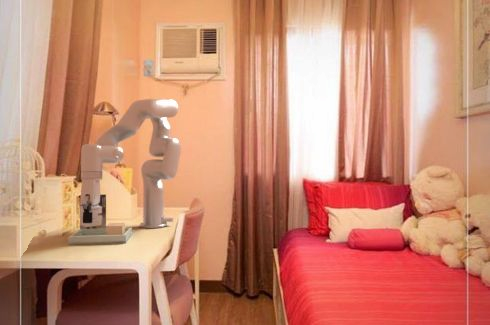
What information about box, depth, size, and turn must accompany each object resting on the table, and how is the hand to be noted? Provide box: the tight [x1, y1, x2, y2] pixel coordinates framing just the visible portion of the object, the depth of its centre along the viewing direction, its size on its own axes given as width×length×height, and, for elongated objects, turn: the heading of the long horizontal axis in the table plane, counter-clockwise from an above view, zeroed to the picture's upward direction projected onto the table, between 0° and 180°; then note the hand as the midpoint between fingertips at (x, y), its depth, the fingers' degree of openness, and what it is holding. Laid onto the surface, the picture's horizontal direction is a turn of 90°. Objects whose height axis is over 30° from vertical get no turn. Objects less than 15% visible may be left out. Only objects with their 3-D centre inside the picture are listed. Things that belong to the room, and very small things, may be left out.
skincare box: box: [79, 205, 102, 227], centre depth 125 cm, size 6×6×7 cm
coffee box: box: [79, 193, 107, 230], centre depth 139 cm, size 9×6×16 cm
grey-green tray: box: [67, 227, 133, 246], centre depth 126 cm, size 20×14×3 cm
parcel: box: [106, 222, 126, 235], centre depth 127 cm, size 6×6×5 cm
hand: (91, 220), depth 125 cm, fingers closed on skincare box, 8 cm apart
